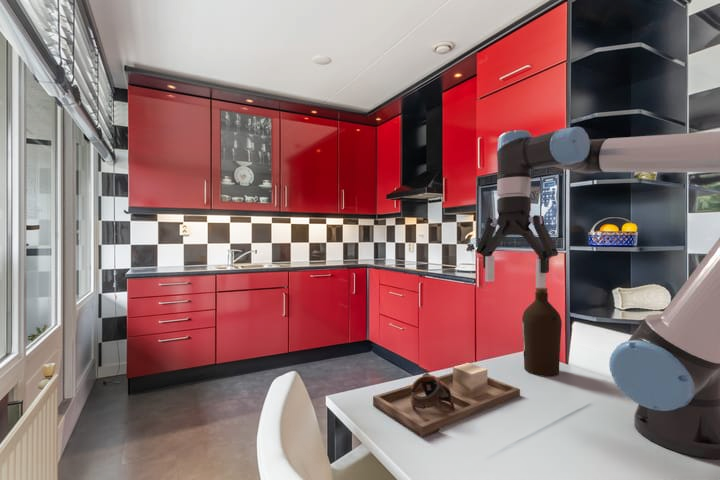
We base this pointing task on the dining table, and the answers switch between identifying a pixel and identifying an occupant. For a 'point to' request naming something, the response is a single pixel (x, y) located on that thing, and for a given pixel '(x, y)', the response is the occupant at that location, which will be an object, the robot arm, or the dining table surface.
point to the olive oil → (541, 336)
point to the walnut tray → (435, 416)
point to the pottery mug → (430, 392)
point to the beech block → (470, 380)
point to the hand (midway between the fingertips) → (513, 284)
